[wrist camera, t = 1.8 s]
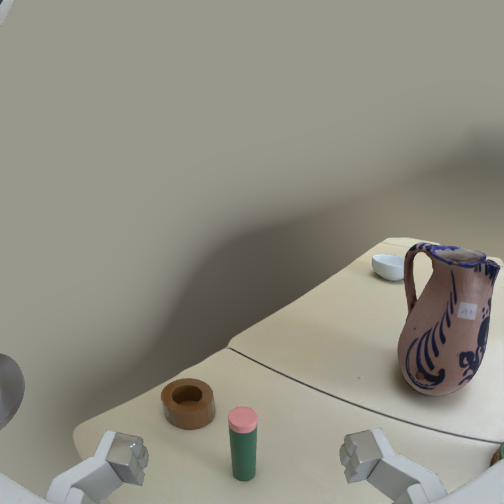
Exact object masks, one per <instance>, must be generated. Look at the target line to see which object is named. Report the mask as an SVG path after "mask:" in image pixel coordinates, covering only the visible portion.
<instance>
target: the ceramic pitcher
mask: <svg viewBox="0 0 504 504" xmlns="http://www.w3.org/2000/svg"><path fill="white" fill-rule="evenodd" d="M419 252H424V253H426V255H427V256H428V257H430V258H431V260H432V267H433V273H432V276H431V278H430V279H429V281H428V283H427V285H426V286H425V288H424V290H423V292H422V294H421V295H420V297H419V299H418V300H417V298H416V290H415V284H414V278H413V260H414V257H415V255H416V254H417V253H419ZM485 259H486V255H485V254H484V253H481V252H479V251H476V250H468V249H464V248H461V247H454V246H438V245H432V244H430V243H423V242H420V243H418V244H415V245H414V246H412V247H411V248H410V249H409V250H408V252H407V253H406V256H405V260H404V283H405V291H406V297H407V304H408V316H407V319H406V323H405V325H404V328H403V330H402V333H401V335H400V338H399V342H398V360H399V364H400V367H401V371H402V373H403V375H404V377H405V379H406V381H407V382H408V383H409V384H410V385H411V386H412V387H413V388H414V389H416V390H417V391H418V392H420V393H423V394H426V395H432V396H439V395H446V394H449V393H452V392H454V391H456V390H458V389H460V388H462V387H463V386H465V385H466V384H467V383H468V382H469V381H470V380H471V379H472V377H473V376H474V375H475V374H476V372H477V370H478V368H479V366H480V364H481V362H482V359H483V356H484V353H485V349H486V344H487V338H488V331H489V321H490V311H491V300H492V293H493V287H494V283H495V280H496V278H497V275H498V272H499V270H500V266H499V265H498V264H497V263H496V262H494V261H492V260H489V259H488V260H485Z"/></svg>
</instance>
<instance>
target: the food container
mask: <svg viewBox="0 0 504 504" xmlns="http://www.w3.org/2000/svg"><path fill="white" fill-rule="evenodd" d="M502 459H504V442H503V443H502V445H501V446H500V448H499V449H498V450H497V452H496V453H495V454H494V456H493V458H492V461H491V465H490V467H491V466H493V465H494V464H495V463H497V462H498V461H500V460H502Z"/></svg>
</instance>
